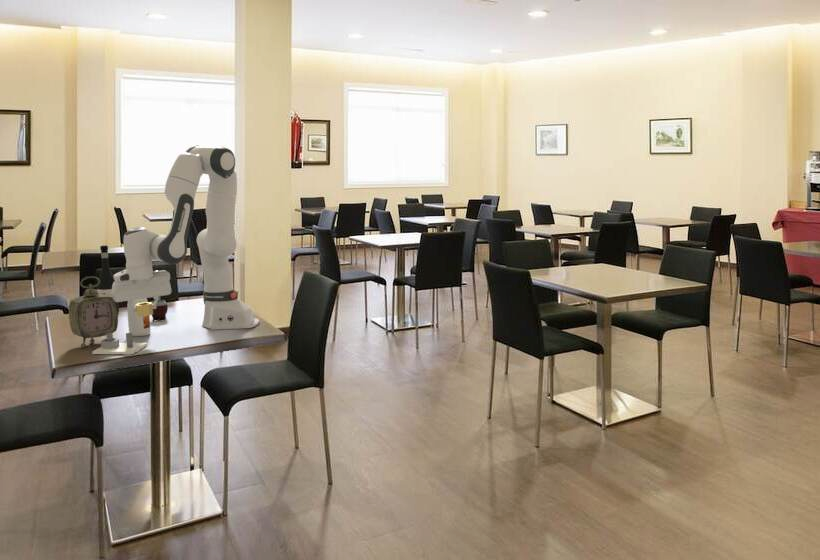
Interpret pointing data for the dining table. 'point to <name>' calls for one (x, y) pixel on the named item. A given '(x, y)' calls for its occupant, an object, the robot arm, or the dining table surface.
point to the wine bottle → (106, 276)
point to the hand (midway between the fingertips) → (144, 310)
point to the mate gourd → (160, 310)
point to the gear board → (118, 345)
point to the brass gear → (144, 309)
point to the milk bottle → (138, 320)
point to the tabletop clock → (92, 314)
